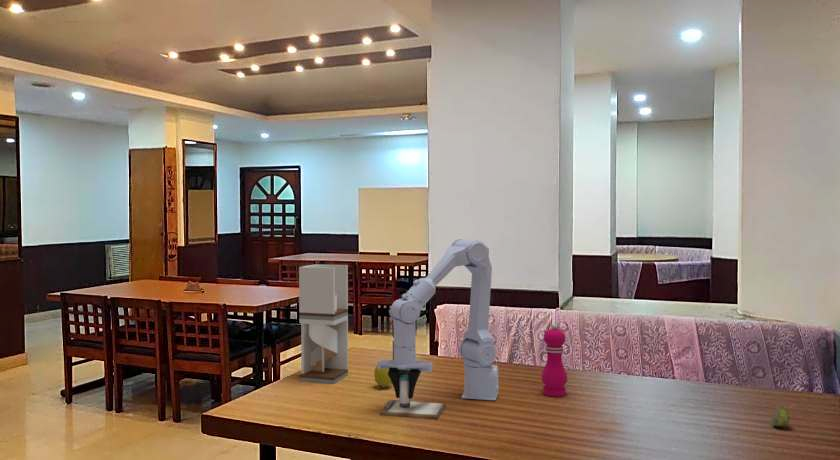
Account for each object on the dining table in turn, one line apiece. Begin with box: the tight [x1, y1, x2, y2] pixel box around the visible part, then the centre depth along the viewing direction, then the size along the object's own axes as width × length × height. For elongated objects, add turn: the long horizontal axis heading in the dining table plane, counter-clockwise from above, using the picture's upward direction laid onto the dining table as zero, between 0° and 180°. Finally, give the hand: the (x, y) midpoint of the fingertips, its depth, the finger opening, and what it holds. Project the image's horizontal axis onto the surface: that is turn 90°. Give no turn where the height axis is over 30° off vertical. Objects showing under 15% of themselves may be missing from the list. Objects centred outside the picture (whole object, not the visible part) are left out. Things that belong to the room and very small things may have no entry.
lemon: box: [373, 365, 392, 389], centre depth 182 cm, size 6×6×8 cm
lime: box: [770, 405, 790, 428], centre depth 148 cm, size 4×5×5 cm
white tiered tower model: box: [298, 264, 349, 385], centre depth 192 cm, size 11×11×35 cm
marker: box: [398, 375, 411, 407], centre depth 162 cm, size 3×3×8 cm
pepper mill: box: [541, 323, 568, 398], centre depth 176 cm, size 7×7×20 cm
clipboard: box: [379, 399, 447, 420], centre depth 161 cm, size 15×11×1 cm
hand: (404, 397), depth 162 cm, fingers closed on marker, 3 cm apart
